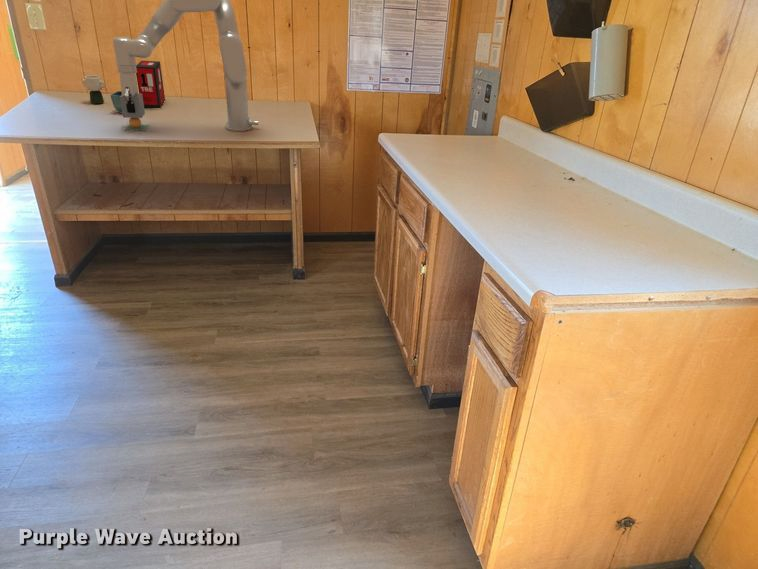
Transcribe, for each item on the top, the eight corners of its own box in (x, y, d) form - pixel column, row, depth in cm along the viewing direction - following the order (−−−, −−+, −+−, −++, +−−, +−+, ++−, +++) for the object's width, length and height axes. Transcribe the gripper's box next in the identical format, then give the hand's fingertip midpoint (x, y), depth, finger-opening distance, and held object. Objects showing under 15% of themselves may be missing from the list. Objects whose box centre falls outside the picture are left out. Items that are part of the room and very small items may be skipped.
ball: (128, 118, 239) (135, 128, 242) (125, 121, 235) (132, 131, 238) (137, 113, 239) (144, 123, 242) (135, 116, 235) (142, 126, 238)
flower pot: (131, 115, 256) (128, 96, 251) (113, 113, 256) (109, 94, 251) (138, 110, 263) (135, 92, 259) (121, 109, 263) (117, 90, 259)
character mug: (111, 102, 273) (106, 76, 266) (104, 105, 267) (99, 78, 260) (90, 100, 273) (85, 74, 266) (83, 103, 267) (77, 76, 260)
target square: (149, 125, 245) (149, 124, 244) (145, 130, 237) (145, 130, 237) (128, 124, 243) (128, 124, 243) (124, 130, 235) (124, 129, 235)
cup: (144, 113, 241) (141, 93, 236) (141, 118, 235) (138, 97, 230) (126, 112, 239) (123, 92, 235) (123, 117, 233) (119, 96, 228)
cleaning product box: (160, 108, 270) (154, 67, 259) (141, 108, 268) (135, 66, 257) (165, 101, 283) (159, 61, 273) (147, 100, 282) (141, 60, 271)
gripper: (122, 64, 233) (128, 105, 242) (112, 72, 219) (120, 115, 228) (140, 65, 234) (146, 105, 244) (132, 73, 220) (138, 115, 229)
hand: (133, 109), depth 236 cm, fingers closed on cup, 7 cm apart
